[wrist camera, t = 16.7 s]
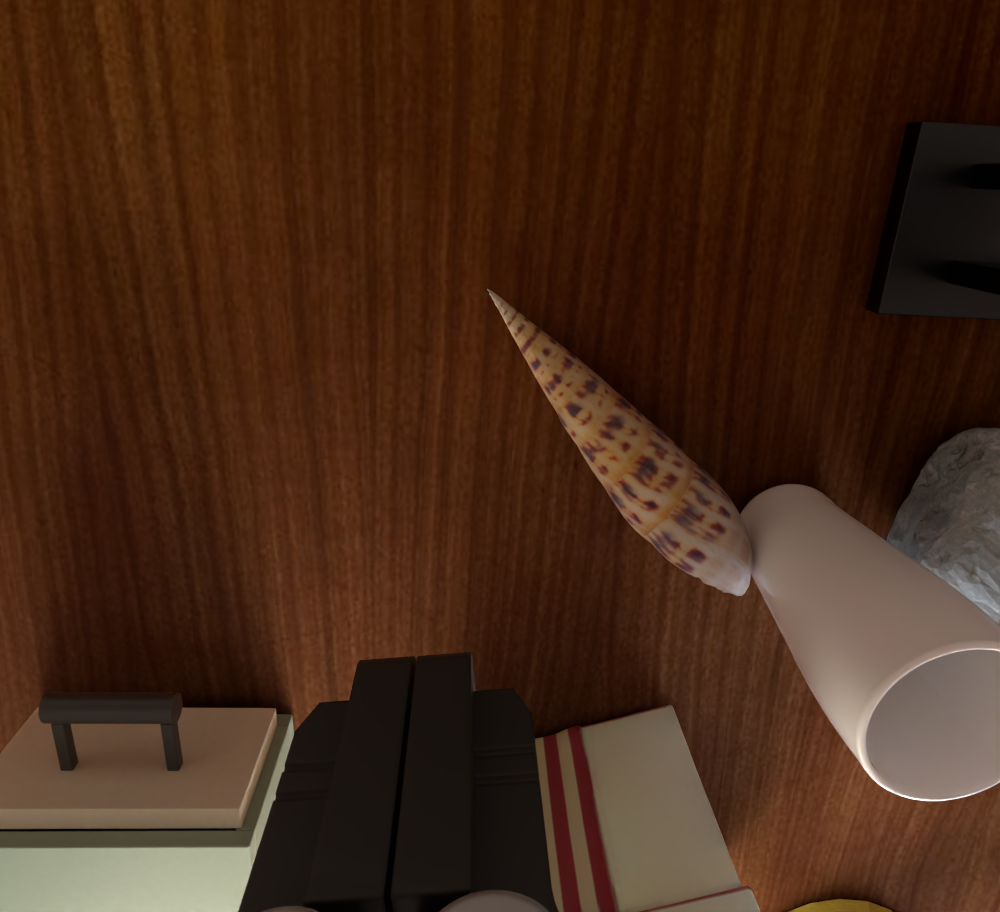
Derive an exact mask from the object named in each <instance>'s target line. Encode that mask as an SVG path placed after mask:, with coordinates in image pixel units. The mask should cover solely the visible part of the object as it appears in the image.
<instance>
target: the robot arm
mask: <svg viewBox="0 0 1000 912" xmlns="http://www.w3.org/2000/svg"><path fill="white" fill-rule="evenodd" d="M284 766H285V769H284V772H282V774H281V777H280V780H279V784H278V787H277V790H276V799H275V800H273V803H272V806H271V809H270V812H269V815H268V819H267V822H266V825H265V828H264V831H263V834H262V838H261V841H260V844H259V847H258V850H257V853H256V857H255V860H254V863H253V866H252V869H251V873H250V876H249V879H248V882H247V885H246V888H245V892H244V895H243V898H242V901H241V904H240V907H239V911H238V912H559V911H558V908H557V906H556V903H555V900H554V896H553V891H552V884H551V875H550V866H549V858H548V849H547V840H546V831H545V823H544V814H543V805H542V797H541V788H540V780H539V770H538V762H537V753H536V744H535V735H534V727H533V718H532V713H531V712H530V711H529V709H528V708H527V706H526V705H525V704H524V702H523V701H522V700H521V698H520V697H519V696H518V694H517V693H516V692H515V690H514V689H513V688H509V689H496V690H483V691H476V689H475V678H474V667H473V658H472V652H466V653H453V654H440V655H426V656H418V657H417V662H416V659H415V657H414V656H410V657H397V658H384V659H370V660H360V661H359V662H358V665H357V668H356V673H355V677H354V681H353V686H352V690H351V694H350V699H349V700H348V701H335V702H322V703H319V704H318V705H317V706H316V707H315V709H314V710H313V711H312V712H311V713H310V715H309V716H308V717H307V718H306V719H305V720H304V722H303V723H302V724H301V725H300V726H299V727H298V729H297V730H296V731H295V733H294V736H293V739H292V742H291V745H290V749H289V752H288V755H287V758H286V761H285V765H284Z"/></svg>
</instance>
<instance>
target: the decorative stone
mask: <svg viewBox="0 0 1000 912" xmlns="http://www.w3.org/2000/svg"><path fill="white" fill-rule="evenodd" d="M931 455H932V454H931ZM886 541H888V542H889V543H891V544H892V545H894V546H895V547H897V548H898V549H900V550H901V551H902V552H904V553H905V554H907V555H908V556H910V557H911V558H913V559H914V560H916V561H917V562H919V563H920V564H922V565H923V566H924V567H926V568H927V569H929V570H930V571H932V572H933V573H935V574H936V575H938V576H939V577H940V578H942V579H943V580H945V581H946V582H948V583H949V584H950V585H952V586H953V587H954V588H956V589H957V590H958V591H960V592H961V593H962V594H964V595H965V596H966V597H967V598H969V599H970V600H971V601H972V602H974V603H975V604H976V605H977V606H978V607H980V608H981V609H982V610H983V611H984V612H986V613H987V614H988V615H989V616H990V617H991V618H992V619H994V620H995V621H996V622H997V623H998V624H999V625H1000V429H999V428H976V427H975V428H973V429H969V430H966V431H963V432H961V433H959V434H958V435H956V436H954V437H953V438H951V439H950V440H948V441H946V442H945V443H942V444H941V445H940V446H938V449H937V450H936V452H935V453H933V455H932V456H931V457H930V458H929V459H928V461H927V462H926V464H925V466H924V467H923V469H922V470H921V472H920V475H919V476H918V478H917V480H916V482H915V483H914V485H913V487H912V490H911V492H910V494H909V496H908V497H907V499H906V500H905V501H904V502H903V504H902V505H901V507H900V508H899V510H898V512H897V514H896V517H895V520H894V523H893V525H892V527H891V529H890V531H889V533H888V536H887V539H886Z"/></svg>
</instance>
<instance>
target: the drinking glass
mask: <svg viewBox="0 0 1000 912" xmlns="http://www.w3.org/2000/svg"><path fill="white" fill-rule="evenodd" d="M740 516H741V517H742V519H743V521H744V524H745V526H746V529H747V532H748V535H749V539H750V543H751V547H752V557H753V561H752V570H751V576H752V578H753V580H754V582H755V583H756V585H757V587H758V589H759V591H760V593H761V595H762V597H763V599H764V601H765V602H766V604H767V606H768V608H769V610H770V612H771V614H772V616H773V618H774V620H775V622H776V624H777V626H778V628H779V630H780V632H781V634H782V636H783V638H784V640H785V642H786V644H787V646H788V648H789V650H790V652H791V653H792V655H793V657H794V659H795V661H796V663H797V665H798V667H799V669H800V671H801V673H802V675H803V677H804V679H805V681H806V683H807V684H808V686H809V688H810V690H811V692H812V693H813V695H814V697H815V698H816V700H817V702H818V703H819V705H820V707H821V708H822V710H823V711H824V713H825V714H826V716H827V718H828V719H829V721H830V722H831V724H832V725H833V727H834V728H835V730H836V731H837V732H838V734H839V735H840V737H841V738H842V740H843V741H844V742H845V744H846V745H847V746H848V748H849V749H850V750H851V752H852V753H853V754H854V756H855V757H856V758H857V760H858V761H859V762H860V764H861V765H862V766H863V768H864V769H865V771H866V772H867V773H868V775H869V776H870V777H871V778H872V779H873V780H874V781H875V782H876V783H878V784H879V785H880V786H882V787H883V788H885V789H886V790H888V791H890V792H892V793H894V794H897V795H899V796H902V797H905V798H910V799H914V800H922V801H944V800H952V799H957V798H962V797H966V796H970V795H973V794H976V793H979V792H981V791H983V790H986V789H988V788H990V787H992V786H994V785H996V784H998V783H1000V625H999V624H998V623H997V622H996V621H995V620H994V619H992V618H991V617H990V616H989V615H988V614H987V613H986V612H984V611H983V610H982V609H981V608H980V607H978V606H977V605H976V604H975V603H974V602H972V601H971V600H970V599H969V598H967V597H966V596H965V595H964V594H962V593H961V592H960V591H958V590H957V589H956V588H954V587H953V586H952V585H950V584H949V583H948V582H946V581H945V580H943V579H942V578H940V577H939V576H938V575H936V574H935V573H933V572H932V571H930V570H929V569H927V568H926V567H924V566H923V565H922V564H920V563H919V562H917V561H916V560H914V559H913V558H911V557H910V556H908V555H907V554H905V553H904V552H902V551H901V550H900V549H898V548H897V547H895V546H894V545H892V544H891V543H889V542H888V541H886V540H885V539H883V538H882V537H881V536H879V535H878V534H876V533H875V532H873V531H872V530H870V529H869V528H868V527H866V526H865V525H863V524H862V523H860V522H859V521H857V520H856V519H855V518H853V517H852V516H850V515H849V514H848V513H846V512H845V511H843V510H842V509H841V508H839V507H838V506H837V505H836V504H835V503H834V502H832V501H831V500H830V499H829V498H828V497H827V496H826V495H824V494H823V493H821V492H820V491H818V490H816V489H814V488H812V487H809V486H805V485H800V484H784V485H778V486H775V487H772V488H769V489H767V490H765V491H763V492H761V493H760V494H758V495H757V496H755V497H754V498H753V499H752V500H751V501H750V502H749V503H748V504H747V505H746V506H745V507H744V509H743V510H742V512H741V514H740Z"/></svg>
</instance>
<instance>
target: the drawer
mask: <svg viewBox="0 0 1000 912" xmlns="http://www.w3.org/2000/svg"><path fill="white" fill-rule="evenodd" d="M276 728H277V715H276V708H182V696H181V694H180V693H150V692H49V693H47V694H45V695H44V697H43V698H42V700H41V702H40V705H39V707H37V708H36V710H35V711H34V712H33V713H32V715H31V716H30V717H29V718H28V719H27V721H26V722H25V723H24V724H23V726H22V727H21V728H20V729H19V731H18V732H17V733H16V734H15V736H14V737H13V738H12V739H11V741H10V742H9V743H8V744H7V745H6V747H5V748H4V749H3V750H2V752H1V753H0V829H2V830H1V831H236V828H242V826H243V823H244V820H245V817H246V814H247V811H248V808H249V805H250V803H251V800H252V797H253V794H254V791H255V788H256V785H257V783H258V780H259V777H260V774H261V771H262V768H263V765H264V762H265V760H266V757H267V754H268V751H269V748H270V745H271V742H272V739H273V737H274V734H275V731H276Z"/></svg>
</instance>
